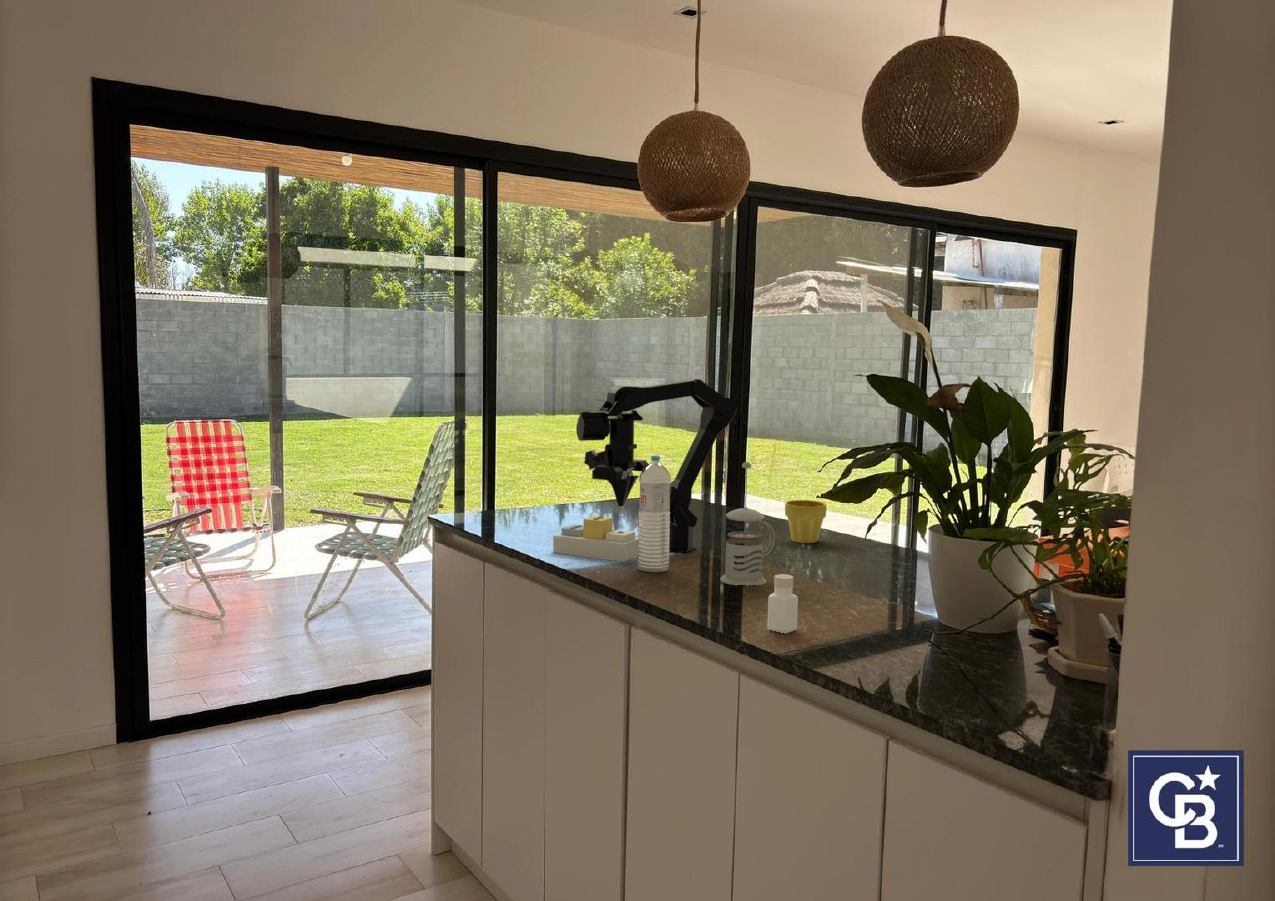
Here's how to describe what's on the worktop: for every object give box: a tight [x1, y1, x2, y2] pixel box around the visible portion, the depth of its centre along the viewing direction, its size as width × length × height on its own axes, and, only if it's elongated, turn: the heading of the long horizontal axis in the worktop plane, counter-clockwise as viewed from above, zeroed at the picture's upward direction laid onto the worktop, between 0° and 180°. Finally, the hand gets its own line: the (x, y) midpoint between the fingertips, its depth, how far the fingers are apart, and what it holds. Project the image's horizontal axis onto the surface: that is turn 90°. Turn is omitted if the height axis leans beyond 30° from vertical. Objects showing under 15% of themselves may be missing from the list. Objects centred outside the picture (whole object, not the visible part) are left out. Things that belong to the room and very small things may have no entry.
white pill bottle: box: [766, 573, 799, 635], centre depth 161 cm, size 4×4×10 cm
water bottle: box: [637, 455, 672, 574], centre depth 204 cm, size 7×7×25 cm
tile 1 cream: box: [606, 529, 636, 543], centre depth 217 cm, size 5×5×5 cm
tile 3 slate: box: [561, 524, 584, 537], centre depth 223 cm, size 5×5×5 cm
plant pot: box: [784, 499, 827, 544], centre depth 239 cm, size 10×10×10 cm
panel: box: [552, 532, 639, 563], centre depth 220 cm, size 19×9×4 cm, turn 63°
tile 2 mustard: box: [583, 515, 614, 540], centre depth 220 cm, size 5×5×5 cm
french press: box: [719, 461, 776, 587], centre depth 196 cm, size 10×12×25 cm
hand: (620, 506), depth 220 cm, fingers closed
